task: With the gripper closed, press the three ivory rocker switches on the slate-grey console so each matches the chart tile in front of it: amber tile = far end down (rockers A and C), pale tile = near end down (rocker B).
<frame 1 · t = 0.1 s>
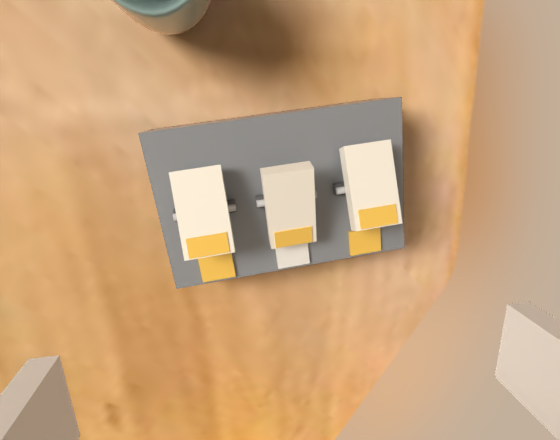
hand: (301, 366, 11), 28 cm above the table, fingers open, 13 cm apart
console: (276, 182, 37), on the table
rocker c: (370, 185, 30), point 8 cm above the table, hinge at -15.0°
rocker b: (289, 207, 30), point 8 cm above the table, hinge at 15.0°
rocker a: (203, 212, 29), point 8 cm above the table, hinge at -15.0°
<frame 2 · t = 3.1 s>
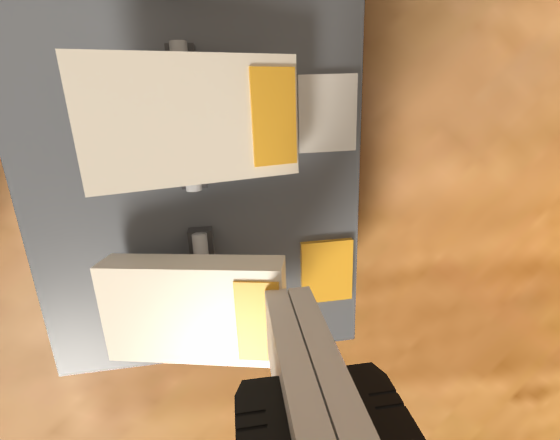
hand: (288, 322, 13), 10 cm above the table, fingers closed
console: (198, 116, 20), on the table
rocker b: (193, 120, 12), point 8 cm above the table, hinge at 15.0°
rocker a: (194, 309, 14), point 8 cm above the table, hinge at -14.8°, touching gripper
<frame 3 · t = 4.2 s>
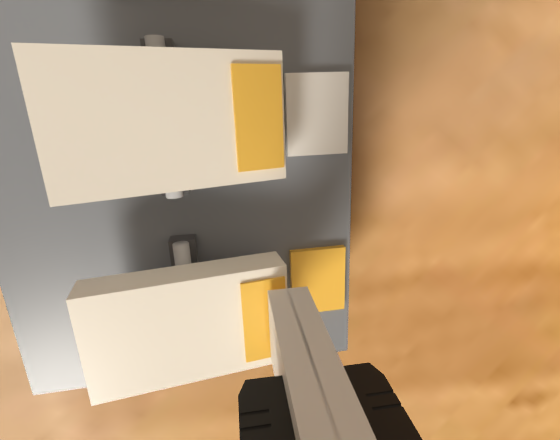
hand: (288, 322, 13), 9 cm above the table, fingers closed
console: (183, 117, 19), on the table
rocker b: (171, 122, 11), point 8 cm above the table, hinge at 15.0°
rocker a: (190, 323, 13), point 8 cm above the table, hinge at 7.0°, touching gripper
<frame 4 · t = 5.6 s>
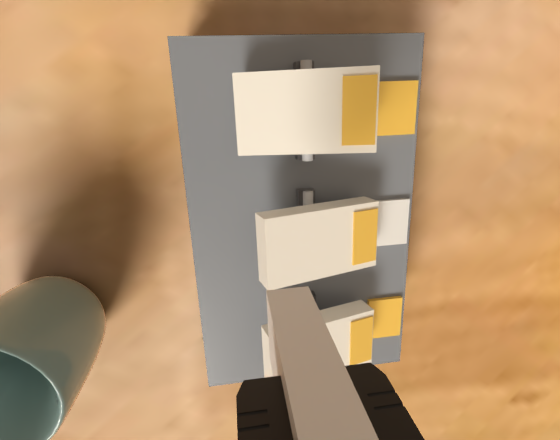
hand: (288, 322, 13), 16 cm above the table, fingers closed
console: (289, 204, 28), on the table
rocker c: (305, 112, 18), point 8 cm above the table, hinge at -15.0°
rocker b: (319, 240, 20), point 8 cm above the table, hinge at 15.0°
rocker a: (319, 345, 22), point 8 cm above the table, hinge at 13.7°
cup: (66, 306, 28), on the table
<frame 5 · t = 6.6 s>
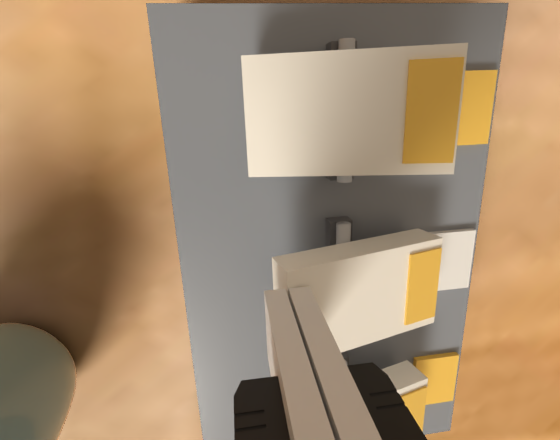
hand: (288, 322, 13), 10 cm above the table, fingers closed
console: (308, 229, 22), on the table
rocker c: (347, 115, 12), point 8 cm above the table, hinge at -15.0°
rocker b: (360, 293, 15), point 8 cm above the table, hinge at 14.5°, touching gripper
rocker a: (355, 427, 17), point 8 cm above the table, hinge at 14.4°
cup: (28, 356, 22), on the table
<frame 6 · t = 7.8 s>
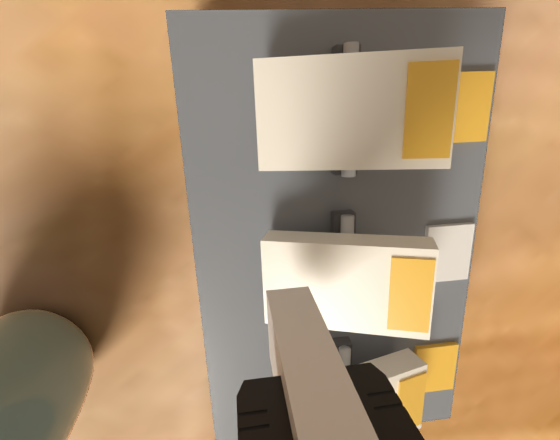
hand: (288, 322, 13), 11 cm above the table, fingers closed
console: (314, 223, 23), on the table
rocker c: (351, 113, 13), point 8 cm above the table, hinge at -15.0°
rocker b: (344, 282, 15), point 8 cm above the table, hinge at -20.0°
rocker a: (358, 409, 18), point 8 cm above the table, hinge at 14.5°
cup: (48, 342, 24), on the table
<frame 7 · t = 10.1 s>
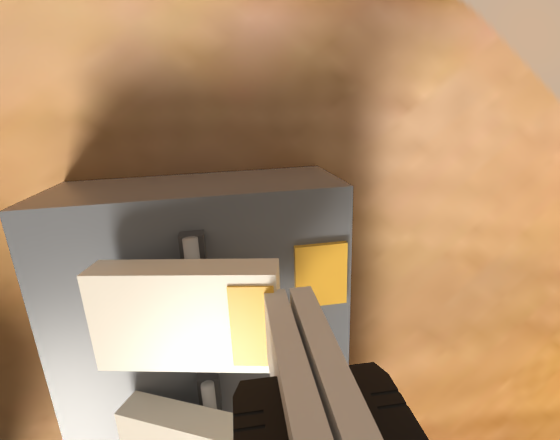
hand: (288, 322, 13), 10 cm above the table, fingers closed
console: (214, 340, 23), on the table
rocker c: (186, 315, 13), point 8 cm above the table, hinge at -12.8°, touching gripper
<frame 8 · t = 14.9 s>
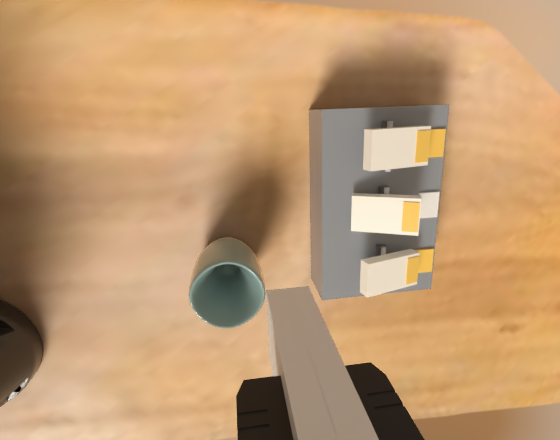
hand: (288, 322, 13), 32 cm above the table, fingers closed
console: (363, 196, 46), on the table
rocker c: (397, 147, 37), point 8 cm above the table, hinge at 12.4°
rocker b: (384, 213, 39), point 8 cm above the table, hinge at -26.6°, touching console
rocker a: (390, 272, 41), point 8 cm above the table, hinge at 14.5°
cup: (227, 257, 47), on the table
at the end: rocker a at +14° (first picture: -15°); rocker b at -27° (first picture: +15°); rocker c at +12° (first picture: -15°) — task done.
